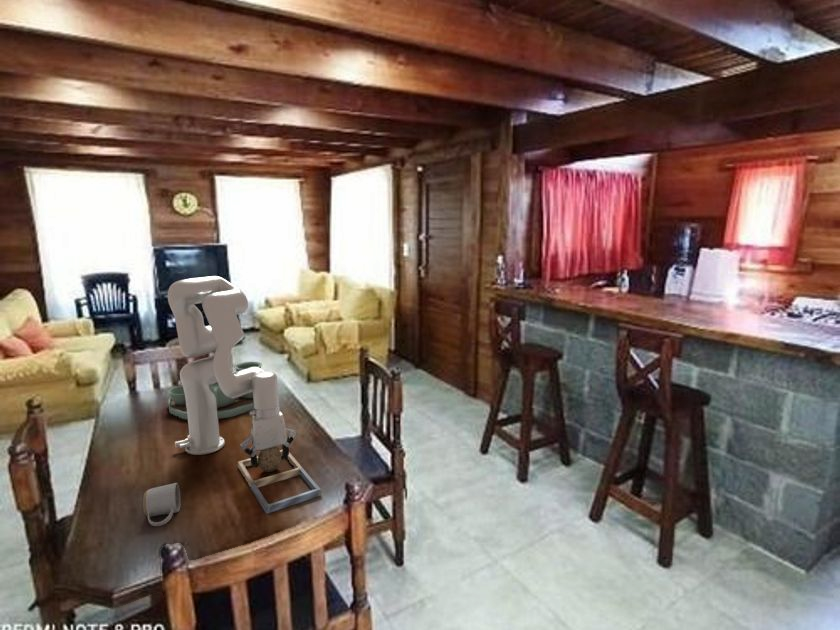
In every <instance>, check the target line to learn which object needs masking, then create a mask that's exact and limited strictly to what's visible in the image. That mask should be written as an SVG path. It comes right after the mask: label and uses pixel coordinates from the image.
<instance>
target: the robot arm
mask: <svg viewBox="0 0 840 630" xmlns="http://www.w3.org/2000/svg"><path fill="white" fill-rule="evenodd" d="M167 290H168V291H167V302H168V305H169V307H170V309H171V311H172V314H173V316H174V320H175V321H174V322H175V325H176V332H177V337H178V338H177V339H178V343H179V347H180V352H181V354H182V355H183V356H184V357H185V358H196V357H202V356H204V355H209V354H210V356H207V357H204V358H199V359H196V360H194V361H190V362H188V363H185V364H184V366H182V368H181V369H180V371H179V379H180V381H181V382H182V385H183V389H184V393H185V399H186V407H187V416H188V419H187V425H188V435H187V438H184V439H182V440H177V441H174V447H175V448H178V447H179V448H180V449H184V448H185V452H187V454H190V455H194V456H197V455H198V456H201V455H207V454H211V453H214V452H216V451H219V450H221V449H222V448H223V447H224V446H225V443H226V442H225V439H224V438H223V437H222V436H220V426H219V419H218V415H217V403H216V397H215V395H214V393H213V392H212V391H211V390H210V389H209V386H210V385H212V384H214V383H217V382H218V384H219V386H220V388H221V390H222V392H223V393H224V394H225V395H226V396H227V397H229V398H236V397H239V396H242V395H244V394H247V393H250V392H253V403H254V407H253V410H251V411H248V413H249V416H252V419H251V428H250V436H248V437H247V438H246V439H245V440H243V442H241V443H240V444H239V445H240V448H241V449H242V450H243V451H244V452H245V453H246V454H247V455H249V456H250V458H251V464H252V465H251V466H253V467H254V469H257V468H258V467H259V464H257V456H258V455H256V454H257V453H258V452H259V451H260V450H264V449H268V448H272V447H276V446H277V447H278V446H281V450H282V452H283V458H284V459H285V460H287V459H288V455H289V453H290V446H291V443H292V442H293V441H294V440H295V439H294V438H295V436H296V434H297V431H296V430H295V429H292V428H287V427H286V423H285V418H284V414H283V413H282V412H281V411H280V399H279V398H280V397H279V386H278V385H279V383H278V375H277V374H276V373H275V372H274V371H270V370H269V371H268V370H265V369H263V368H262V367H261V368H259V367H250V368H247V369H244V370H240V371H237V372H236V371H235V372H234V371H233V370H234V369H233V367H234V366H233V365H234V364H233V359H232V358H233V357H232V352H231V351H232V349H233V348H234V347H235V345H237V344H238V343H239V342H240V341H242V340H243V339H244V337H245V332H244V330H243V328H242V326H241V324H240V321H239V318H238V315H243V314H245V313H246V312H247V310H248V309H249V301H248V298H247V296H246V294H245V293H244V291H242V290H241V289H240V288H239V287H238V286H236V285H234V284H233V283H231V282H230V281H228V280H226V279H225V278H223V277H221V276H218V275H211V276H209V275H208V276H201V277H191V278H184V279H180V280H177V281H175V282H173V283H171V285H170V286H169V288H168V289H167ZM197 304H201V306H202V309H203V313H204V316H205V317H206V319H207V322H208V324H209V325H205V322H204V321H205V320H204V316H203V313H202V312H201V310H200V309H199V308H198V307H197V306H196V305H197ZM287 434H289V435H287ZM250 444H252V446H251V447H250V448H249V447H247V446H248V445H250Z"/></svg>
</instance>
